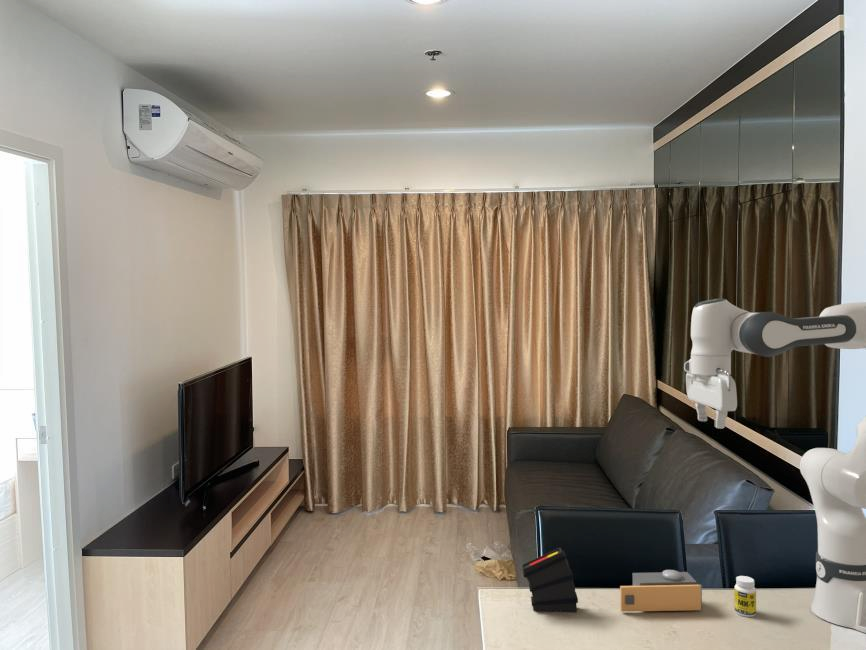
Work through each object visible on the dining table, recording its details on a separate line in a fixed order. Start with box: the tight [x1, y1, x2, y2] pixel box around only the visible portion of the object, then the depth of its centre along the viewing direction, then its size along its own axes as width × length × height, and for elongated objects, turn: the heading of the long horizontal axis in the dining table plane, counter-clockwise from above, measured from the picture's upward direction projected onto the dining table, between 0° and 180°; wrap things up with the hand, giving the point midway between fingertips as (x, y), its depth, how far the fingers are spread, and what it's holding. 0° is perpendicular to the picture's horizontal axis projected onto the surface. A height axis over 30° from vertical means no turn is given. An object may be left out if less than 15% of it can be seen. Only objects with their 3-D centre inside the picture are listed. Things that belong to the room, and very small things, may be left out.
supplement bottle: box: [733, 575, 757, 618], centre depth 157 cm, size 5×5×8 cm
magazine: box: [521, 547, 579, 613], centre depth 161 cm, size 4×13×15 cm, turn 84°
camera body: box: [632, 569, 698, 586], centre depth 162 cm, size 14×6×8 cm, turn 90°
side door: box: [619, 584, 703, 613], centre depth 158 cm, size 20×1×6 cm, turn 90°
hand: (710, 424), depth 155 cm, fingers open, 8 cm apart
